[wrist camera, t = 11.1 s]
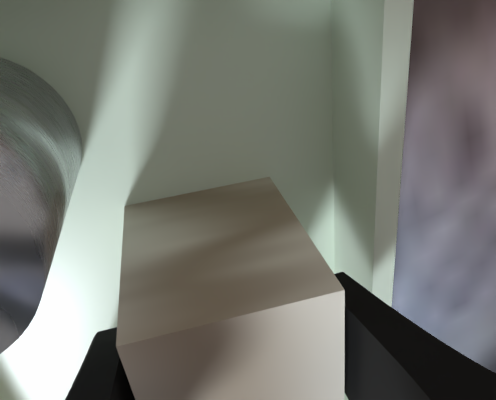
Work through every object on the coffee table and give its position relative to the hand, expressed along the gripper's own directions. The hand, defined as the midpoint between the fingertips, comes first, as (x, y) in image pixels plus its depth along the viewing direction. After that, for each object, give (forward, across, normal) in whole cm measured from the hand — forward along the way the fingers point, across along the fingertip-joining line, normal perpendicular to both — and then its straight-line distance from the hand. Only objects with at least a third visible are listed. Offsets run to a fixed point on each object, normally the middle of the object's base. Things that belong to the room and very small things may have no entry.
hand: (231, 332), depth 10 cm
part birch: (+3, 0, 0) cm, 3 cm away
